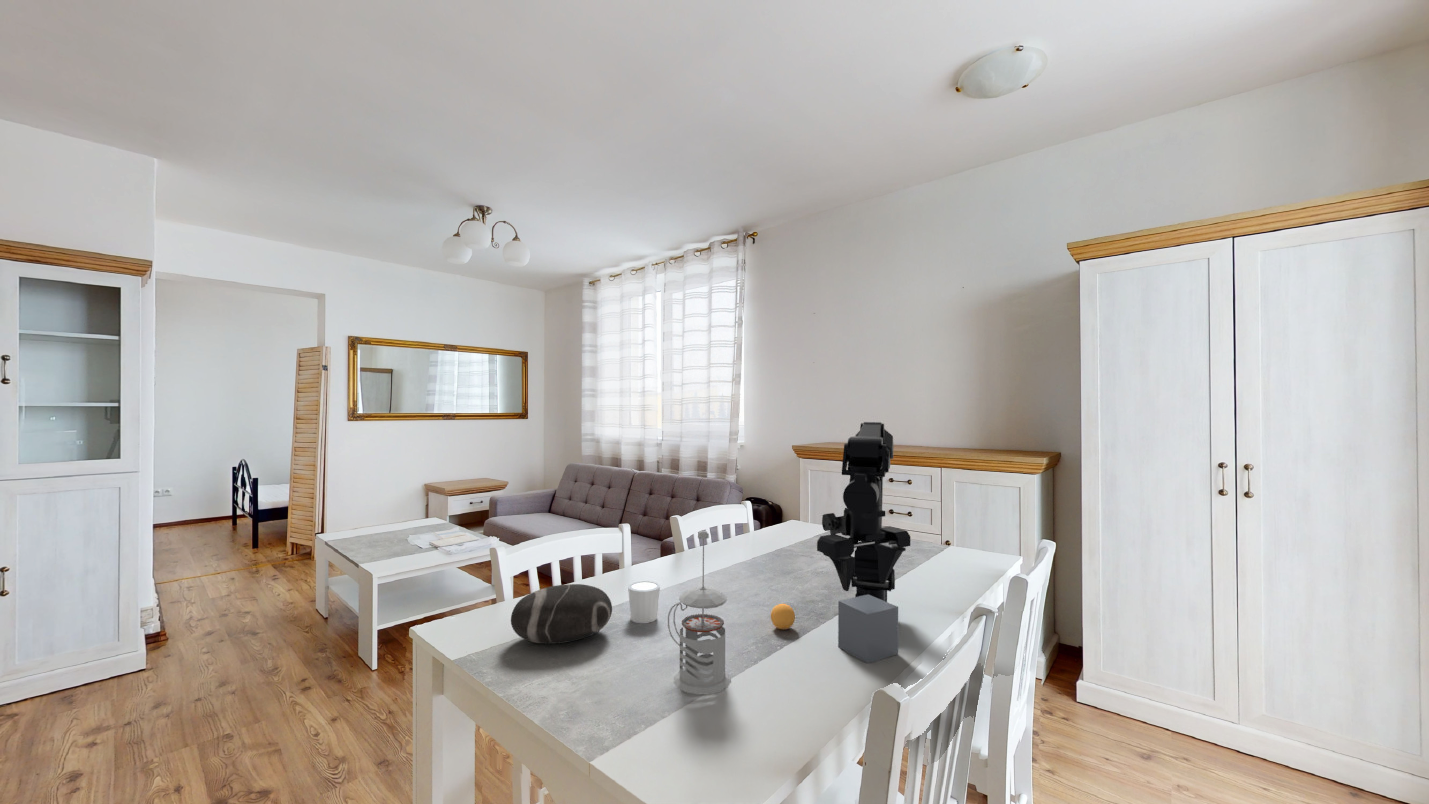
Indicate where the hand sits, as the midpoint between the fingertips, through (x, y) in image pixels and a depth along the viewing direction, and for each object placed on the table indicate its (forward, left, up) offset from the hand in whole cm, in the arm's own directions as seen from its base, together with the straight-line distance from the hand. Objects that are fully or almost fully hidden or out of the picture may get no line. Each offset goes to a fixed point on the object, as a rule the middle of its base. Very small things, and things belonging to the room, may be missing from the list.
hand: (864, 586), depth 106 cm
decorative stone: (+49, -32, -12) cm, 60 cm away
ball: (+8, -15, -10) cm, 20 cm away
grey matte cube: (0, +1, -12) cm, 12 cm away
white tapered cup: (+31, -34, -12) cm, 48 cm away
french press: (+33, -5, -12) cm, 35 cm away
